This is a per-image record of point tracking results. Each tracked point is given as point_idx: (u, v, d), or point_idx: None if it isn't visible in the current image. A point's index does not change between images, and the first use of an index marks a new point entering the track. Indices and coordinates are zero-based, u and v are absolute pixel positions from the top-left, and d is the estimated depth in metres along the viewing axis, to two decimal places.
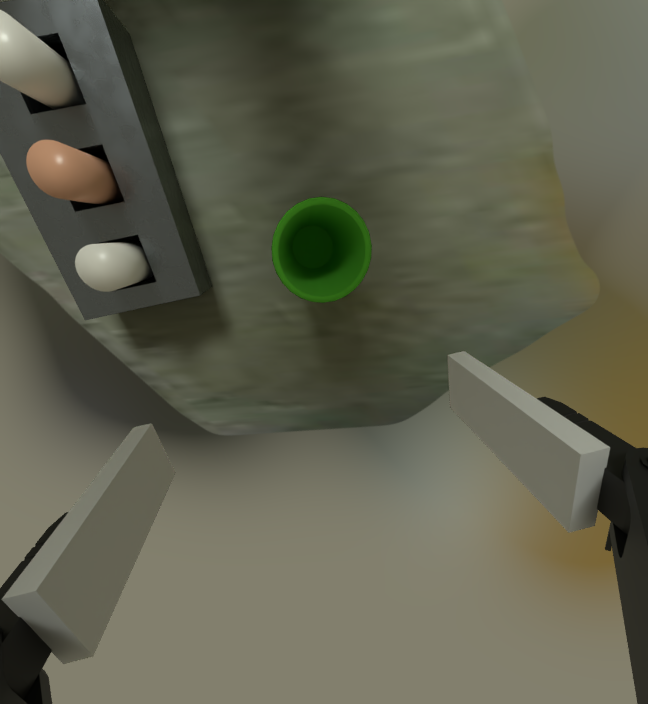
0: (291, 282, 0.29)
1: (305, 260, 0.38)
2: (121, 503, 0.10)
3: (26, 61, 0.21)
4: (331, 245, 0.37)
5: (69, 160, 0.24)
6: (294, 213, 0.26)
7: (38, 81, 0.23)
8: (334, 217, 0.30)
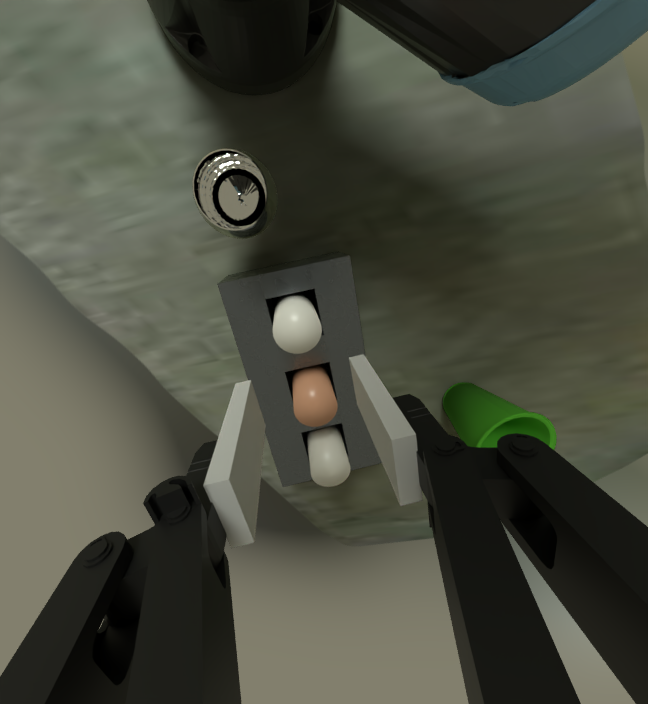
0: None
1: None
2: (248, 436, 0.12)
3: (314, 339, 0.26)
4: None
5: (328, 400, 0.28)
6: (499, 425, 0.31)
7: None
8: None
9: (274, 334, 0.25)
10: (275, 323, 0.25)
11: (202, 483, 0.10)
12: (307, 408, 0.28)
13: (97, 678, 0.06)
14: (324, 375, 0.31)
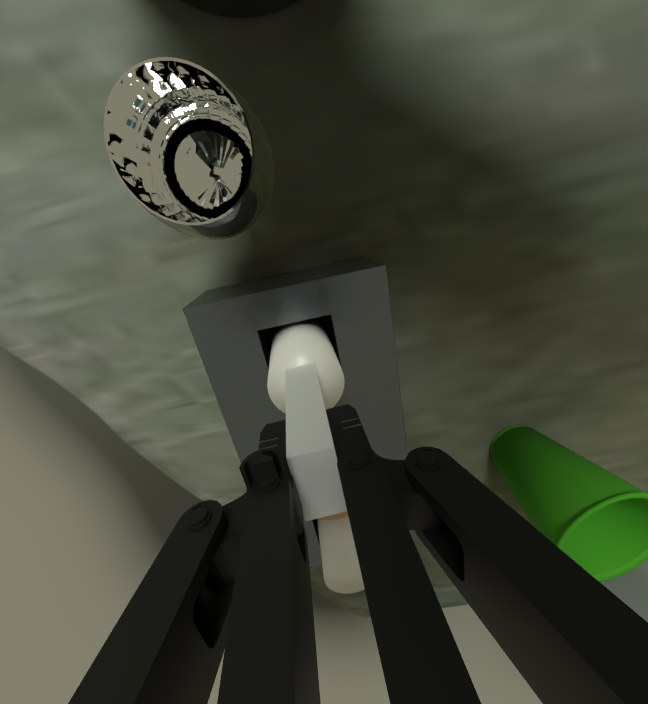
0: None
1: None
2: None
3: (333, 396, 0.16)
4: None
5: None
6: None
7: None
8: None
9: (270, 391, 0.16)
10: (271, 374, 0.16)
11: None
12: None
13: (196, 640, 0.06)
14: None
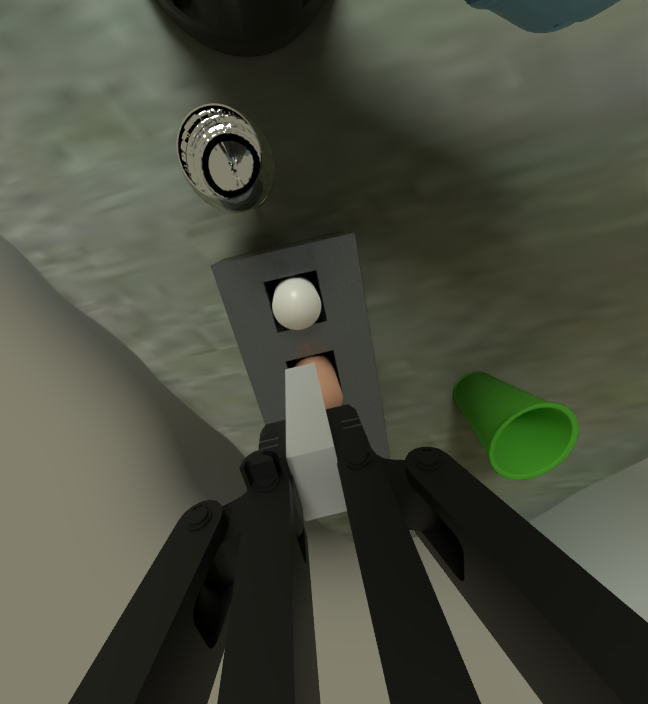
0: (497, 464, 0.31)
1: None
2: None
3: (314, 315, 0.26)
4: None
5: (332, 391, 0.26)
6: (517, 416, 0.28)
7: None
8: None
9: (274, 310, 0.25)
10: (275, 299, 0.25)
11: None
12: None
13: (196, 641, 0.06)
14: (328, 364, 0.29)
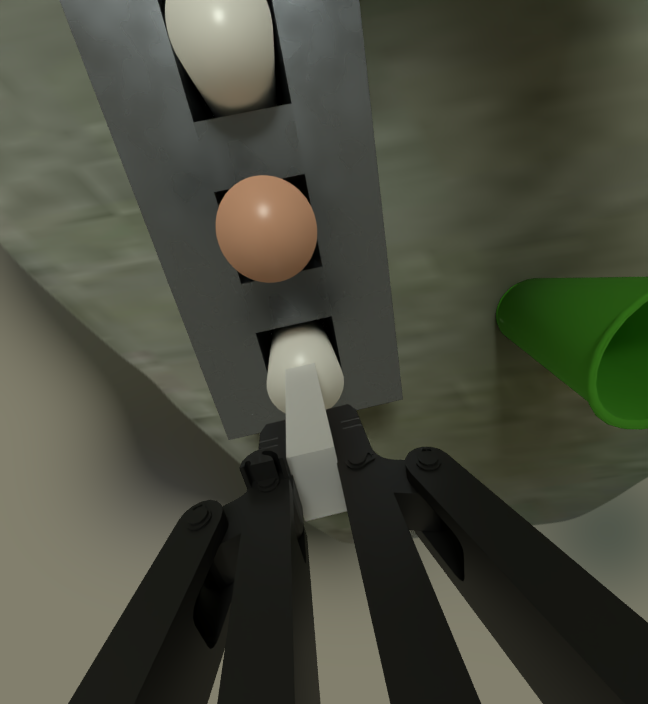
0: None
1: None
2: None
3: (259, 54, 0.12)
4: None
5: (295, 214, 0.12)
6: None
7: (259, 88, 0.14)
8: None
9: (170, 31, 0.12)
10: None
11: None
12: (248, 231, 0.12)
13: (196, 640, 0.06)
14: None
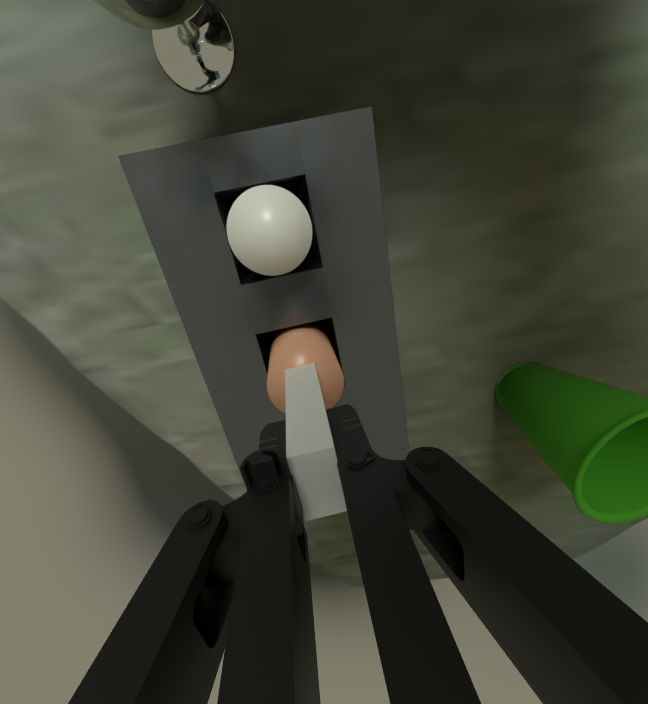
0: None
1: None
2: None
3: (300, 249, 0.15)
4: None
5: (327, 372, 0.16)
6: (626, 426, 0.18)
7: None
8: None
9: (230, 237, 0.15)
10: (231, 216, 0.14)
11: None
12: None
13: (195, 640, 0.06)
14: (321, 334, 0.19)
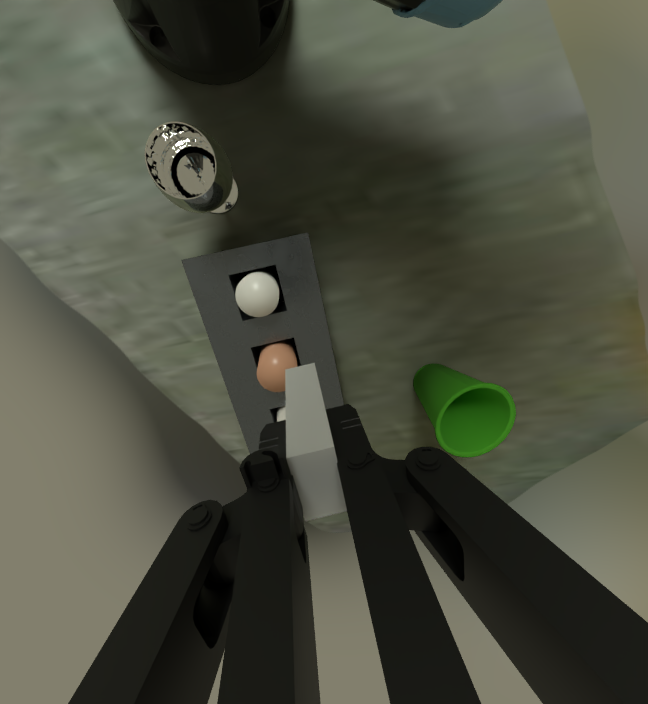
0: (445, 442, 0.34)
1: None
2: None
3: (273, 303, 0.29)
4: None
5: (288, 366, 0.30)
6: (458, 396, 0.32)
7: None
8: None
9: (237, 299, 0.29)
10: (237, 289, 0.29)
11: None
12: (269, 374, 0.30)
13: (196, 640, 0.06)
14: (288, 346, 0.33)
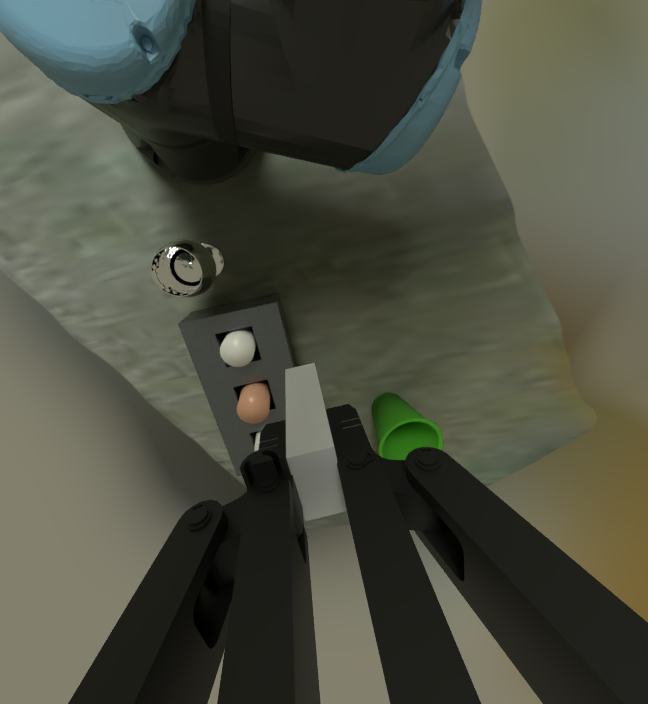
0: None
1: None
2: None
3: (249, 357, 0.38)
4: None
5: (261, 404, 0.39)
6: (395, 427, 0.40)
7: None
8: None
9: (221, 354, 0.37)
10: (221, 347, 0.37)
11: None
12: (246, 410, 0.39)
13: (196, 640, 0.06)
14: (263, 385, 0.42)
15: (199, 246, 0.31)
